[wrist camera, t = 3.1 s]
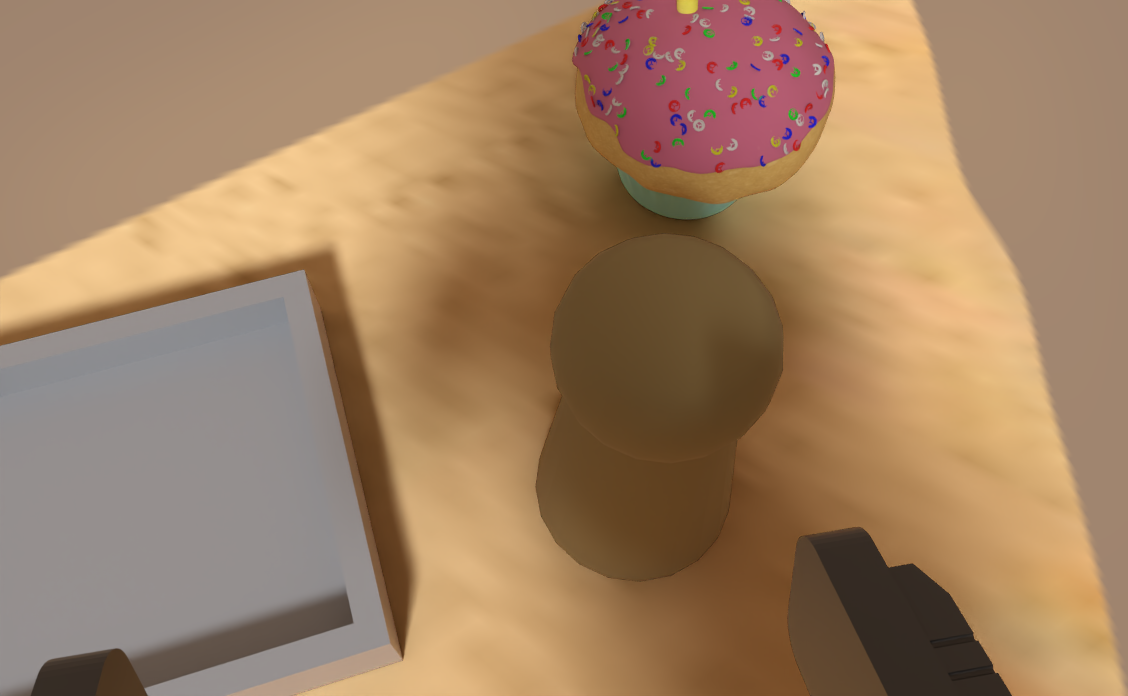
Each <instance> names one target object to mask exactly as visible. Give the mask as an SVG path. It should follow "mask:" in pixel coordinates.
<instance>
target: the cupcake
mask: <svg viewBox="0 0 1128 696" xmlns="http://www.w3.org/2000/svg"><path fill="white" fill-rule="evenodd" d="M608 1H610V2H608ZM786 1H787V2H786ZM607 2H608V3H607ZM607 4H608V5H607ZM602 7H604V8H602ZM601 8H602V10H601ZM598 11H599V12H595V13H594V15H593V18H592V21H591V22H590V23H589V24H588V25H587V23H586V22H583V23H582V25H581V32H582V35H578V40H579V41H578V43H577V45H576V47H575V50H574V53H573V58H572V62H573V64H574V65H575V66H576V67H577V68H578V70H577V76H576V91H575V101H576V108H577V112H578V114H579V117H580V119H581V122H582V124H583V127H584V130H585V133H586V136H587V138H588V140H589V141H590V143H591V145H592V146H593V147H594V148H595V149H596V150H597V151H598V152H599V153H600V154H601V155H602V156H603V157H604V158H606V159H607V160H608V161H609V162H611V163H612V164H613V165H614V166H616V167H617V169H618V172H619V175H620V178H621V181H622V183H623V185H624V187H625V188H626V190H627V191H628V193H629V194H630V195H631V196H632V197H633V198H634V199H635V200H636V201H637V202H638V203H640V204H641V205H642V206H644V207H645V208H647V209H648V210H650V211H652V212H654V213H657V214H659V215H662V216H665V217H669V218H675V219H687V220H689V219H700V218H705V217H709V216H712V215H714V214H717V213H719V212H721V211H723V210H724V209H726V208H728V207H729V206H730V205H731V204H733V203H734V202H735V201H736V200H737V199H739V198H742V197H745V196H749V195H753V194H757V193H761V192H765V191H769V190H772V189H775V188H777V187H778V186H780V185H781V184H783V183H784V182H785V181H787V180H788V179H789V178H790V177H792V176H793V175H794V174H795V173H796V172H797V171H798V170H799V169H800V168H801V167H802V165H803V164H804V163H805V161H806V160H807V159H808V157H809V156H810V154H811V153H812V151H813V150H814V148H815V147H816V145H817V143H818V141H819V139H820V136H821V134H822V131H823V129H824V126H825V124H826V121H827V118H828V115H829V113H830V111H831V108H832V104H833V99H834V92H835V67H834V60H833V56H832V53H831V52H830V50H829V47H828V45H827V44H825V43H824V36H823V33H822V32H820V37H819V36H818V34H817V33H816V32H815V29H816V26H815V25H814V24H813V23H811V22H808V21H807V20H806V18H805V11H803V13H801V14H800V13H799V12H798V11H797V10H796V9H795V8H794V7H793V6H791V5H790V0H605V2H604V4H603V5H601V6H600V7H599V8H598ZM596 14H597V15H596ZM595 15H596V17H595ZM810 24H811V25H810ZM583 26H584V28H583ZM583 29H584V31H583Z"/></svg>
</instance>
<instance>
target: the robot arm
mask: <svg viewBox="0 0 1128 696" xmlns="http://www.w3.org/2000/svg"><path fill="white" fill-rule="evenodd" d="M788 630H789V636H790V641H791V646H792V650H793V653H794V657H795V660H796V662H797V665H798V668H799V670H800V672H801V675H802V677H803V679H804V682H805V684H806V687H807V689H808V691H809V694H810V696H1012V695H1011V693H1010V692H1009V690H1008V688H1007V687H1006V685H1005V684H1004V682H1003V680H1002V679H1001V677H1000V675H999V674H998V673H995V672H994V670H993V664H992V662H991V661H990V659H989V658H988V656H987V654H986V653H985V651H984V649H983V648H982V646H981V645H980V643H979V641H975V639H974V636H973V632H972V630H971V628H970V627H969V625H968V623H967V622H966V620H965V618H964V617H963V615H962V614H961V612H960V610H959V609H958V607H957V605H956V604H955V602H954V601H953V599H952V597H951V596H950V594H949V593H947V592H946V591H945V590H944V589H943V588H941V587H940V586H939V585H938V584H937V583H935V582H934V581H933V580H932V579H931V578H929V577H928V576H927V575H926V574H925V573H923V572H922V571H921V570H920V569H919V568H917V567H916V566H915V565H914V564H907V565H901V566H895V567H890V568H888V567H887V565H886V563H885V561H884V560H883V558H882V556H881V554H880V553H879V551H878V549H877V547H876V545H875V544H874V542H873V540H872V539H871V537H870V535H869V534H868V533H867V532H866V531H865V530H864V529H863V528H861V527H854V528H848V529H842V530H836V531H830V532H824V533H818V534H812V535H806V536H801V537H800V538H799V539H798V542H797V545H796V552H795V560H794V568H793V576H792V584H791V591H790V599H789V607H788ZM31 696H148V695H147V693H146V691H145V689H144V687H143V685H142V683H141V682H140V680H139V678H138V676H137V674H136V672H135V670H134V668H133V667H132V665H131V663H130V661H129V659H128V657H127V656H126V654H125V653H124V652H123V651H122V650H121V649H119V648H114V649H108V650H102V651H96V652H90V653H84V654H78V655H72V656H66V657H60V658H54V659H50V660H48V661H47V662H45V663H44V665H43V666H42V667H41V669H40V671H39V673H38V675H37V678H36V681H35V684H34V687H33V690H32V693H31Z"/></svg>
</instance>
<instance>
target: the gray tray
mask: <svg viewBox="0 0 1128 696" xmlns="http://www.w3.org/2000/svg"><path fill="white" fill-rule="evenodd" d="M114 648H119V649H121V650H122V651H123V652H124V653H125V654H126V656H127V657H128V659H129V661H130V663H131V665H132V667H133V668H134V670H135V672H136V674H137V676H138V678H139V680H140V682H141V683H142V685H143V687H144V689H145V691H146V693H147V695H148V696H293V695H296V694H299V693H302V692H305V691H308V690H311V689H315V688H318V687H321V686H324V685H327V684H330V683H333V682H336V681H340V680H343V679H346V678H349V677H352V676H355V675H358V674H361V673H365V672H368V671H371V670H374V669H377V668H380V667H383V666H387V665H390V664H393V663H396V662H399V661H402V660H403V658H402V654H401V650H400V645H399V641H398V637H397V633H396V628H395V624H394V620H393V615H392V611H391V607H390V603H389V598H388V594H387V590H386V586H385V581H384V577H383V573H382V569H381V564H380V560H379V556H378V551H377V547H376V543H375V539H374V534H373V530H372V526H371V522H370V517H369V513H368V509H367V504H366V500H365V496H364V492H363V487H362V483H361V479H360V475H359V470H358V466H357V462H356V457H355V453H354V449H353V445H352V440H351V436H350V432H349V428H348V423H347V419H346V415H345V410H344V406H343V402H342V398H341V393H340V389H339V385H338V381H337V376H336V372H335V368H334V364H333V359H332V355H331V351H330V346H329V342H328V338H327V334H326V329H325V325H324V321H323V317H322V312H321V308H320V306H319V304H318V301H317V299H316V296H315V294H314V292H313V289H312V287H311V284H310V282H309V280H308V277H307V275H306V272H305V270H300V271H296V272H292V273H288V274H284V275H280V276H276V277H272V278H268V279H264V280H260V281H256V282H252V283H248V284H244V285H240V286H236V287H232V288H228V289H224V290H220V291H216V292H213V293H209V294H205V295H201V296H197V297H193V298H189V299H185V300H181V301H177V302H173V303H169V304H165V305H161V306H157V307H153V308H149V309H145V310H141V311H137V312H133V313H129V314H125V315H121V316H117V317H113V318H109V319H105V320H101V321H97V322H93V323H89V324H85V325H81V326H77V327H73V328H69V329H65V330H61V331H57V332H54V333H50V334H46V335H42V336H38V337H34V338H30V339H26V340H22V341H18V342H14V343H10V344H6V345H2V346H0V696H31V693H32V690H33V687H34V684H35V681H36V678H37V675H38V673H39V671H40V669H41V667H42V666H43V665H44V663H45V662H47V661H48V660H50V659H54V658H60V657H66V656H72V655H78V654H84V653H90V652H96V651H102V650H108V649H114Z"/></svg>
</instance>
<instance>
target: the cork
mask: <svg viewBox="0 0 1128 696" xmlns="http://www.w3.org/2000/svg"><path fill="white" fill-rule="evenodd" d="M550 351H551V360H552V365H553V370H554V374H555V379H556V384H557V388H558V390H559V391H560V393H561V395H562V398H561V401H560V404H559V406H558V409H557V412H556V415H555V417H554V420H553V423H552V426H551V428H550V431H549V434H548V437H547V439H546V442H545V445H544V448H543V451H542V453H541V456H540V459H539V466H538V473H537V481H536V492H537V497H538V502H539V508H540V513H541V517H542V519H543V520H544V522H545V524H546V526H547V527H548V529H549V531H550V533H551V535H552V536H553V538H554V540H555V542H556V543H557V544H558V545H559V546H560V547H561V548H562V549H563V550H565V551H566V552H567V553H568V554H569V555H570V556H571V557H572V558H573V559H574V560H575V561H576V562H578V563H579V564H580V565H582V566H585V567H587V568H589V569H591V570H593V571H595V572H597V573H600V574H602V575H604V576H606V577H608V578H616V579H624V580H632V581H645V580H650V579H656V578H661V577H666V576H671V575H673V574H675V573H676V572H678V571H680V570H682V569H683V568H685V567H687V566H689V565H691V564H692V563H694V562H696V561H698V560H699V559H700V557H701V556H702V555H703V554H704V553H705V552H706V551H707V549H708V548H709V547H710V546H711V545H712V544H713V543H714V541H715V540H716V539H717V538H718V536H719V533H720V531H721V528H722V526H723V523H724V521H725V518H726V516H727V513H728V511H729V503H730V495H731V486H732V478H733V470H734V461H735V453H736V445H737V439H739V438H741V437H742V436H743V435H744V434H745V433H746V432H747V431H748V430H749V428H750V427H751V426H752V425H753V424H754V423H755V422H756V421H757V420H758V419H759V418H760V416H761V415H762V414H763V413H764V412H765V410H766V408H767V407H768V405H769V403H770V401H771V398H772V396H773V393H774V391H775V388H776V386H777V383H778V381H779V378H780V376H781V373H782V371H783V326H782V323H781V320H780V317H779V314H778V311H777V309H776V306H775V303H774V300H773V297H772V295H771V294H770V293H769V291H768V290H767V289H766V287H765V286H764V285H763V283H762V282H761V281H760V279H759V278H758V277H757V275H756V274H755V273H754V271H753V270H752V269H751V268H750V267H748V266H747V265H746V264H745V263H743V262H742V261H741V260H739V259H738V258H736V257H735V256H734V255H732V254H731V253H730V252H728V251H727V250H726V249H724V248H723V247H720V246H718V245H715V244H712V243H710V242H707V241H705V240H702V239H699V238H697V237H694V236H685V235H676V234H666V233H662V234H656V235H649V236H643V237H636V238H632V239H629V240H626V241H624V242H622V243H620V244H618V245H616V246H613V247H611V248H609V249H607V250H605V251H603V252H600V253H598V254H597V255H596V256H595V257H594V258H593V259H592V260H591V261H590V262H589V263H587V264H586V265H585V266H584V267H583V268H582V269H581V270H580V271H579V272H578V273H577V274H575V276H574V278H573V280H572V282H571V283H570V285H569V287H568V289H567V291H566V293H565V294H564V296H563V298H562V300H561V302H560V304H559V306H558V307H557V309H556V311H555V315H554V322H553V329H552V336H551V343H550Z"/></svg>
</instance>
